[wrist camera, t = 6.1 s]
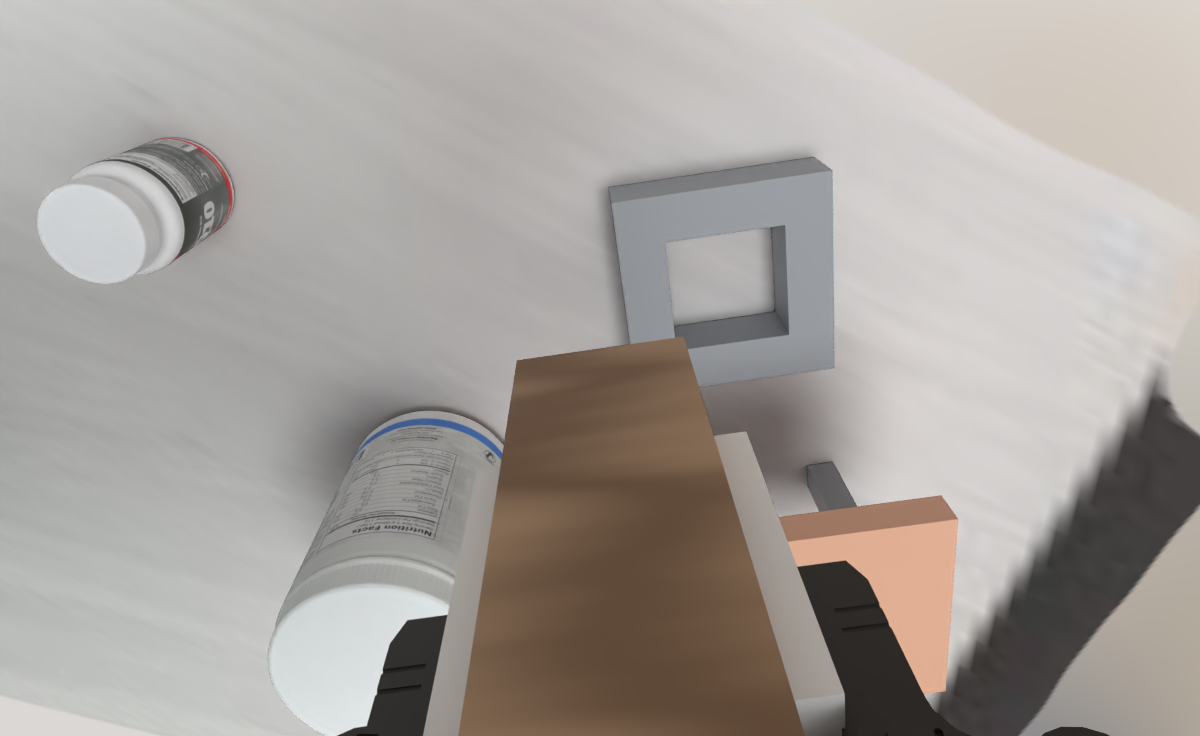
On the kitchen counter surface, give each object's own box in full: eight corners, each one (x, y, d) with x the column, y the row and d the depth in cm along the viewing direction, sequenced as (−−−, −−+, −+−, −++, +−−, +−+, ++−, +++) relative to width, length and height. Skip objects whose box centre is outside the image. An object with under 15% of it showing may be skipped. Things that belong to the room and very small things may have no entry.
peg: (546, 497, 21) (513, 1061, 10) (517, 360, 19) (438, 863, 8) (699, 476, 20) (835, 1026, 10) (683, 336, 19) (829, 816, 8)
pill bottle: (199, 253, 39) (112, 318, 32) (114, 185, 38) (1, 236, 30) (257, 187, 38) (180, 239, 30) (171, 114, 36) (68, 148, 29)
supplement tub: (534, 530, 48) (520, 742, 34) (379, 553, 48) (307, 771, 35) (500, 389, 43) (469, 569, 30) (331, 415, 44) (226, 604, 30)
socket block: (633, 369, 43) (637, 395, 40) (608, 187, 39) (611, 202, 36) (817, 343, 43) (834, 368, 40) (813, 157, 38) (832, 170, 36)
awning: (635, 513, 47) (662, 726, 34) (616, 380, 43) (637, 561, 30) (837, 486, 47) (945, 690, 33) (836, 349, 43) (958, 519, 29)
